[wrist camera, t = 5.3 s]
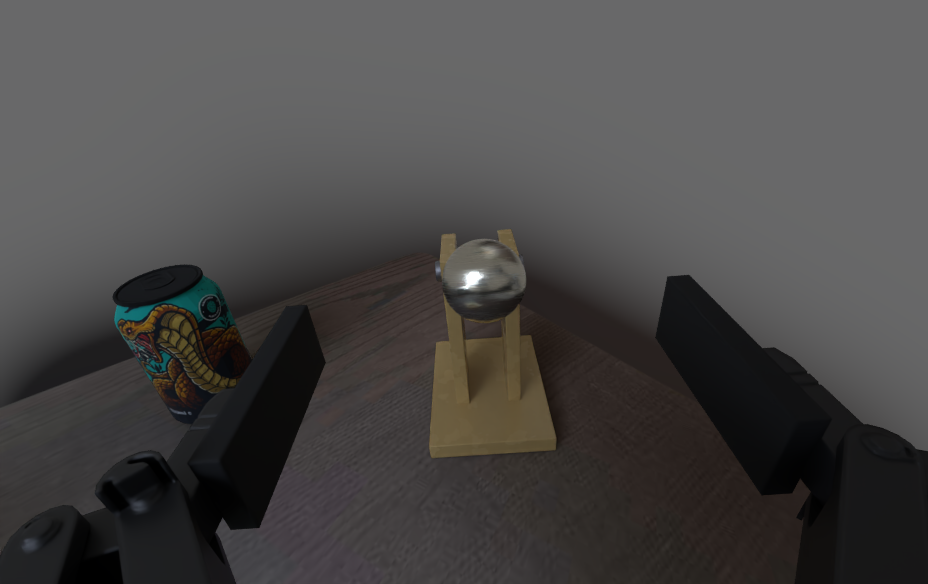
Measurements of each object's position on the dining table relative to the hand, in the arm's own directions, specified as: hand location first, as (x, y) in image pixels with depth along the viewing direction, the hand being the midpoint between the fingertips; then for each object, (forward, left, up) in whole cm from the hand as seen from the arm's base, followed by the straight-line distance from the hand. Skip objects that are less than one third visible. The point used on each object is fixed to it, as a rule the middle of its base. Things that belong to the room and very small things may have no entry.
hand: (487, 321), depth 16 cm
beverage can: (+24, +14, -17) cm, 32 cm away
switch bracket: (+11, -6, -17) cm, 21 cm away
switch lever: (+6, -3, -4) cm, 8 cm away
